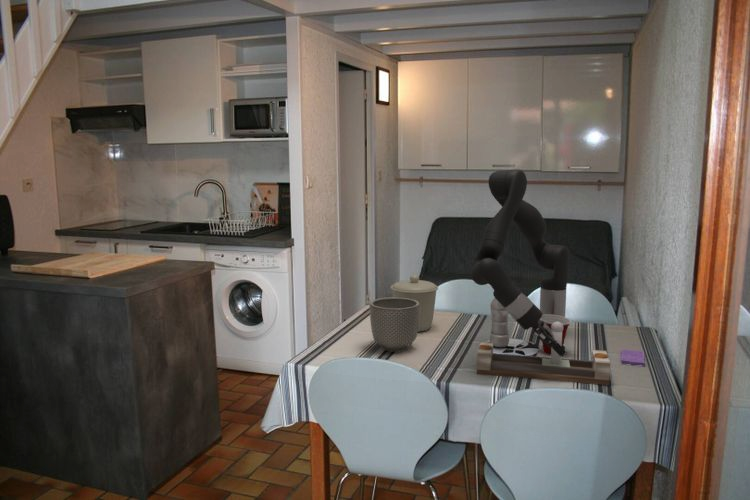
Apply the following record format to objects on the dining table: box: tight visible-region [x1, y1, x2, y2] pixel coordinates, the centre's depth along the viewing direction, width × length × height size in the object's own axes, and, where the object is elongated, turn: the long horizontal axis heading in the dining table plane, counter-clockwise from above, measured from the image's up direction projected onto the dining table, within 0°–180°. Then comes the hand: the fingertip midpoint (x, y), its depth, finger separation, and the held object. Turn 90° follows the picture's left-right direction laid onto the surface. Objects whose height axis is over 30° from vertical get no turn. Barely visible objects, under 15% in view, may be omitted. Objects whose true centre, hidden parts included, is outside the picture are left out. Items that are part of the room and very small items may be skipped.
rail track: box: [476, 341, 611, 386], centre depth 188 cm, size 12×38×7 cm, turn 75°
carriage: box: [542, 322, 570, 368], centre depth 186 cm, size 6×8×15 cm
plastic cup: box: [540, 314, 572, 356], centre depth 207 cm, size 11×11×12 cm
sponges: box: [620, 349, 646, 367], centre depth 200 cm, size 7×13×2 cm, turn 158°
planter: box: [369, 296, 420, 352], centre depth 212 cm, size 17×17×16 cm
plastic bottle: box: [489, 297, 510, 348], centre depth 213 cm, size 6×7×20 cm
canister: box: [390, 274, 439, 333], centre depth 235 cm, size 18×18×21 cm
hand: (563, 352), depth 186 cm, fingers closed on carriage, 3 cm apart
